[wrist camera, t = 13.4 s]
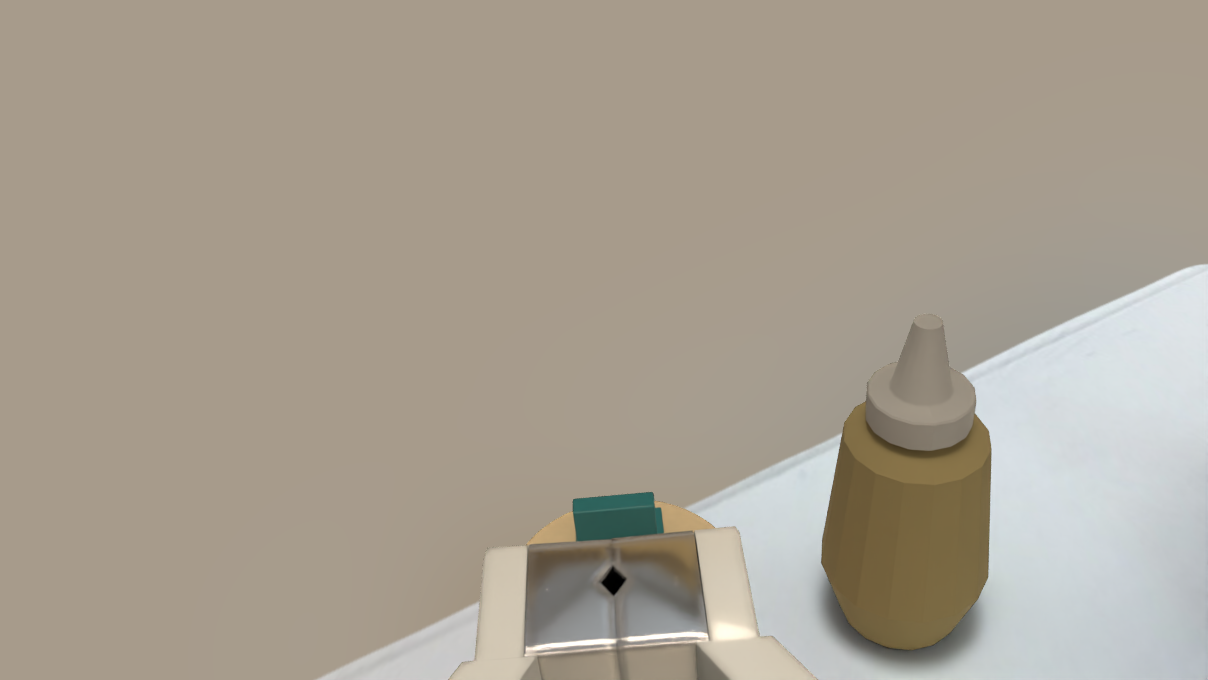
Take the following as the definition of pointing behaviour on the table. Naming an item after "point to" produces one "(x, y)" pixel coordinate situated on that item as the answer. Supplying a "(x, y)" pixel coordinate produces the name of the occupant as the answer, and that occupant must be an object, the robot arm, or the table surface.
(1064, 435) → the table surface
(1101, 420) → the table surface
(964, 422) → the squeeze bottle
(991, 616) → the table surface
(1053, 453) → the table surface
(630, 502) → the teal l-shaped bracket
